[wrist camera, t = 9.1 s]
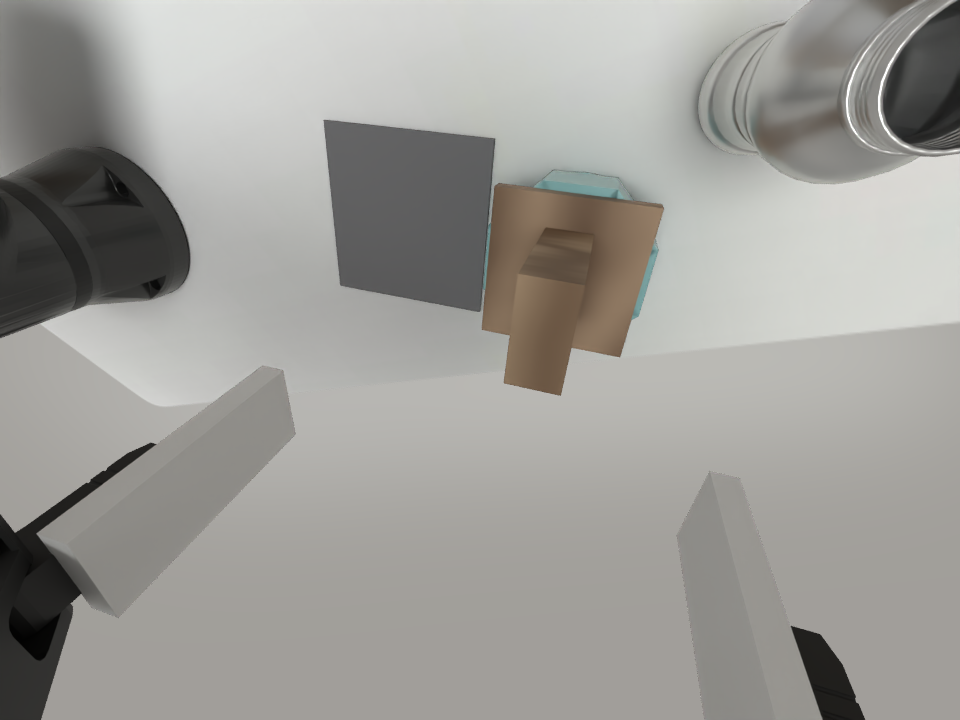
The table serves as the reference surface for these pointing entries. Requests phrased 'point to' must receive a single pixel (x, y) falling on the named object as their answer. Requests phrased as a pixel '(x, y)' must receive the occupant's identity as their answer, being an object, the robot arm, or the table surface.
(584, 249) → the cover lid
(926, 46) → the plastic bottle
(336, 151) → the mat
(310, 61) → the table surface
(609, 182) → the bowl
